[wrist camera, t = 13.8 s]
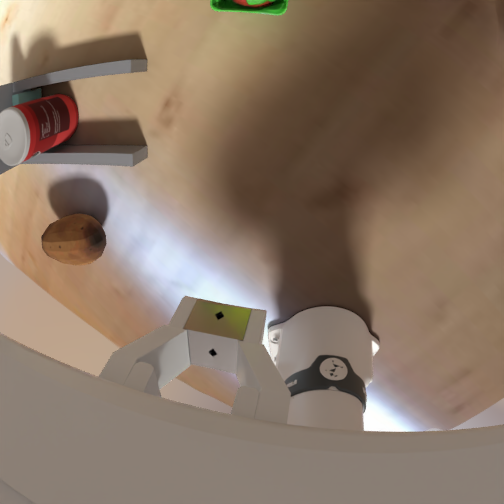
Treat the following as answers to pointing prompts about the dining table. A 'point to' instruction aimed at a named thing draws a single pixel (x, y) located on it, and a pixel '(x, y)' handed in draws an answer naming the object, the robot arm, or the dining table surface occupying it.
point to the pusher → (26, 96)
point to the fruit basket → (251, 6)
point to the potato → (74, 239)
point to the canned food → (36, 127)
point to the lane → (79, 153)
